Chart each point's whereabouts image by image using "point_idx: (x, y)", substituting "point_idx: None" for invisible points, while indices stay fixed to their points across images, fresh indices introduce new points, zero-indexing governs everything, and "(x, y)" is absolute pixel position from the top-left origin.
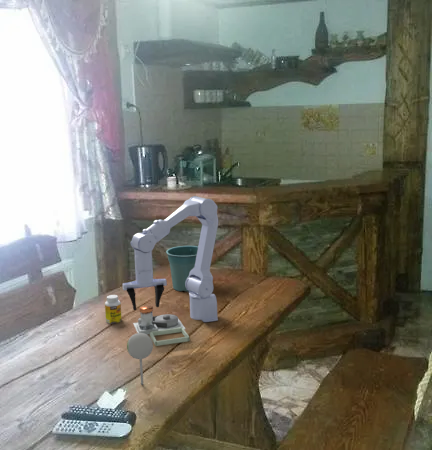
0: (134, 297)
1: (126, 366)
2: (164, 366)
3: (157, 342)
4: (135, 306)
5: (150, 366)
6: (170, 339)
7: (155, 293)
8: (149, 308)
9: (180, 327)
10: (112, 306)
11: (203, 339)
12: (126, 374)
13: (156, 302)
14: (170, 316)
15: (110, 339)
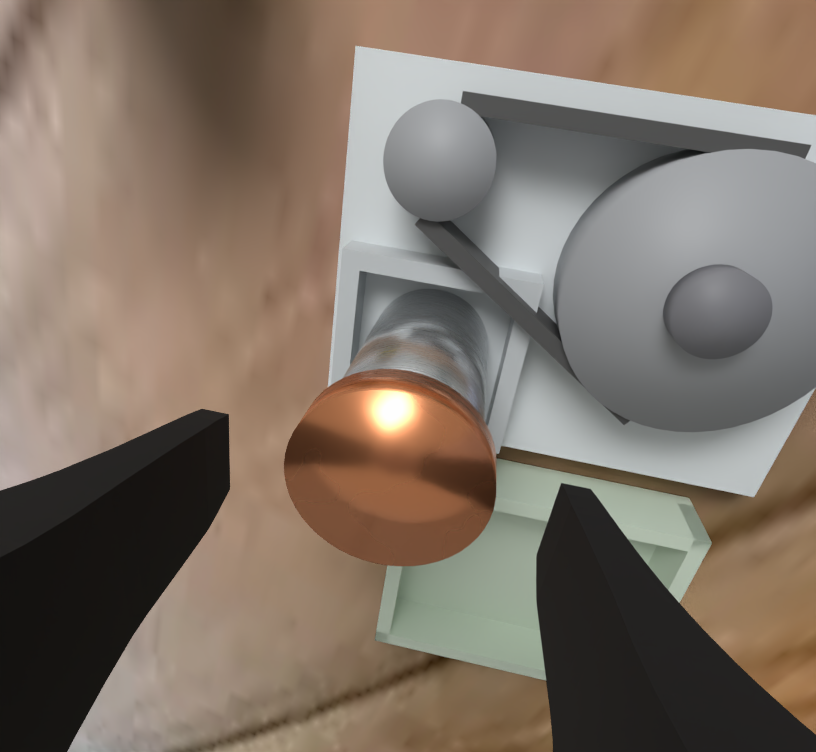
0: (62, 723)
1: (187, 662)
2: (358, 745)
3: (391, 638)
4: (189, 540)
5: (297, 715)
6: (486, 662)
7: (620, 670)
8: (423, 531)
9: (691, 539)
10: None
11: (751, 639)
12: (179, 713)
13: (552, 599)
14: (796, 274)
15: (115, 282)
